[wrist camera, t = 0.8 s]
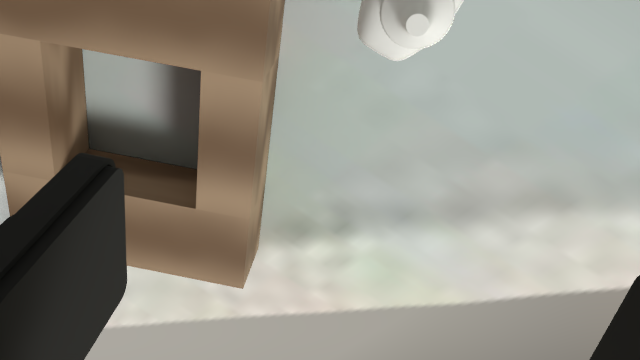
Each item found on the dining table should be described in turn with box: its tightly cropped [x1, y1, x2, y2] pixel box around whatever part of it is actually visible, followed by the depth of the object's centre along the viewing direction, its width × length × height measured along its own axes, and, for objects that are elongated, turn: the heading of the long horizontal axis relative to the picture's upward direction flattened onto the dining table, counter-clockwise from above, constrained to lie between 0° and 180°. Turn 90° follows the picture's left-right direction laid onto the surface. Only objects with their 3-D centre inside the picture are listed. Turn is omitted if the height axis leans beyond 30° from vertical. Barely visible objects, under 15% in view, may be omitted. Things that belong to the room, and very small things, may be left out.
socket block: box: [0, 0, 285, 289], centre depth 32 cm, size 18×14×4 cm
